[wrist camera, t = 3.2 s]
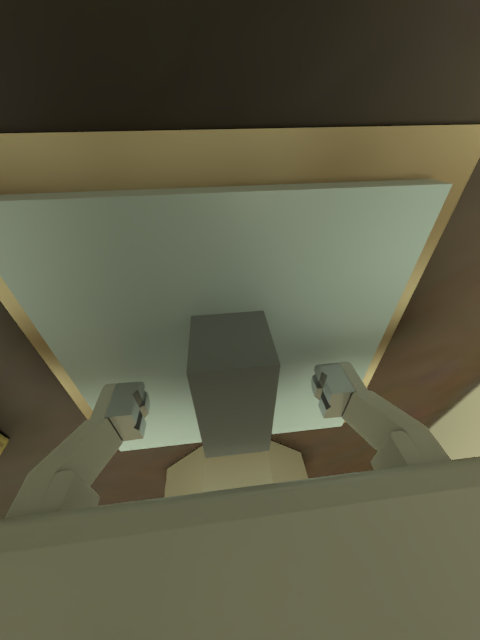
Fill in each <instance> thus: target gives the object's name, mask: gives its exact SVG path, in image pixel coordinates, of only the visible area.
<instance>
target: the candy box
mask: <svg viewBox="0 0 480 640" xmlns="http://www.w3.org/2000/svg"><path fill="white" fill-rule="evenodd" d="M8 441H9V439H8V438H6V437H4V436H3V435H2V434H0V455H1V453H2V451H3V450H4V448H5V447H6V445H7V443H8Z"/></svg>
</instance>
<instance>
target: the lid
mask: <svg viewBox="0 0 480 640" xmlns="http://www.w3.org/2000/svg"><path fill="white" fill-rule="evenodd" d="M451 187H452V184H451V183H447V182H442V181H438V180H434V179H413V180H386V181H358V182H331V183H303V184H276V185H249V186H221V187H194V188H166V189H139V190H112V191H84V192H57V193H29V194H2V195H0V276H1V277H2V279H3V280H4V282H5V283H6V285H7V286H8V288H9V289H10V291H11V292H12V294H13V295H14V296H15V298H16V299H17V301H18V302H19V304H20V305H21V307H22V308H23V310H24V311H25V313H26V314H27V315H28V317H29V318H30V320H31V321H32V323H33V324H34V326H35V327H36V329H37V330H38V332H39V333H40V335H41V336H42V337H43V339H44V340H45V342H46V343H47V345H48V346H49V348H50V349H51V351H52V352H53V354H54V355H55V356H56V358H57V359H58V361H59V362H60V364H61V365H62V367H63V368H64V370H65V371H66V373H67V374H68V375H69V377H70V378H71V380H72V381H73V383H74V384H75V386H76V387H77V389H78V390H79V392H80V393H81V395H82V396H83V397H84V399H85V400H86V402H87V403H88V405H89V406H90V408H91V409H92V411H93V410H94V407H95V405H96V402H97V400H98V397H99V395H100V392H101V390H102V388H103V386H104V385H105V384H114V383H127V382H143V383H144V385H145V389H144V391H146V392H147V393H148V395H149V399H150V408H149V414H148V415H147V416H146V417H145V418H144V419H145V421H146V428H145V433H144V438H143V439H136V440H129V441H122V442H123V443H122V444H121V446H120V447H119V448H118V449H119V450H120V451H128V450H137V449H146V448H154V447H163V446H172V445H181V444H189V443H198V442H202V444H203V449H204V453H205V458H212V457H220V456H228V455H237V454H245V453H254V452H262V451H270V443H271V435H272V434H277V433H286V432H295V431H303V430H312V429H321V428H330V427H339V426H342V424H343V422H344V419H342V417H335V418H323V416H322V414H321V411H320V409H319V406H318V404H319V400H318V399H317V398H316V397H314V394H313V391H312V387H311V380H312V376H313V375H314V374H315V372H314V367H315V366H316V365H318V364H327V363H336V362H337V363H338V362H350V363H351V364H352V366H353V367H354V369H355V370H356V372H357V374H358V375H359V377H360V378H361V380H362V381H363V379H364V376H365V374H366V372H367V370H368V368H369V365H370V363H371V361H372V359H373V357H374V355H375V352H376V350H377V348H378V346H379V344H380V341H381V339H382V337H383V335H384V333H385V331H386V328H387V326H388V324H389V322H390V320H391V317H392V315H393V313H394V311H395V309H396V307H397V304H398V302H399V300H400V298H401V296H402V293H403V291H404V289H405V287H406V285H407V283H408V280H409V278H410V276H411V274H412V272H413V269H414V267H415V265H416V263H417V261H418V259H419V256H420V254H421V252H422V250H423V248H424V245H425V243H426V241H427V239H428V237H429V235H430V232H431V230H432V228H433V226H434V224H435V221H436V219H437V217H438V215H439V213H440V211H441V208H442V206H443V204H444V202H445V200H446V197H447V195H448V193H449V191H450V189H451Z"/></svg>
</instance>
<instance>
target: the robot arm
mask: <svg viewBox="0 0 480 640" xmlns="http://www.w3.org/2000/svg"><path fill="white" fill-rule="evenodd" d="M314 372H315V374H314V375H313V376H312V380H311V387H312V391H313V394H314V397H316V398H317V399H318V400H319V404H318V406H319V409H320V411H321V414H322V416H323V418H335V417H342V419H344V420H345V421H346V422H347V423H348V424H349V425H350V426H351V427H352V428H353V429H354V430H355V431H356V432H357V433H358V434H360V435H361V436H362V437H363V438H364V439H365V440H366V441H367V442H368V443H369V444H370V445H371V446H372V447H373V448H374V449H376V450H377V451H378V452H377V453H376V454H375V456H374V457H373V459H372V460H371V465H372V467H373V469H374V470H372V471H364V472H356V473H349V474H341V475H333V476H325V477H318V478H310V479H302V480H295V481H287V482H279V483H271V484H264V485H256V486H248V487H241V488H233V489H225V490H217V491H210V492H202V493H194V494H187V495H179V496H171V497H163V498H156V499H148V500H140V501H133V502H125V503H117V504H110V505H102V506H98V502H99V498H100V497H99V495H98V494H97V493H96V492H95V491H94V490H93V489H92V488H91V487H90V485H91V484H92V483H93V481H94V480H95V479H96V478H97V476H98V475H99V474H100V472H101V471H102V470H103V468H104V467H105V466H106V464H107V463H108V462H109V460H110V459H111V458H112V456H113V455H114V454H115V452H116V451H117V450H118V448H119V447H120V446H121V444H122V443H123V442H122V441H129V440H136V439H143V438H144V433H145V428H146V421H145V419H144V418H145V417H146V416H147V415H148V414H149V408H150V399H149V395H148V393H147V392H146V391H144V389H145V385H144V383H143V382H127V383H114V384H105V385H104V386H103V388H102V390H101V392H100V395H99V397H98V400H97V402H96V405H95V407H94V410H93V412H92V415H91V417H90V420H85V421H84V422H83V423H82V424H81V425H80V426H79V427H78V428H77V429H76V430H75V431H74V432H72V433H71V434H70V435H69V436H68V437H67V438H66V439H65V440H64V441H63V442H62V443H61V444H59V445H58V446H57V447H56V448H55V449H54V450H53V451H52V452H51V453H50V454H49V455H48V456H47V457H45V458H44V459H43V460H42V461H41V462H40V463H39V464H38V465H37V466H36V467H35V468H34V469H32V470H31V471H30V472H29V473H28V475H27V477H26V479H25V480H24V482H23V484H22V486H21V488H20V490H19V492H18V494H17V496H16V498H15V500H14V502H13V504H12V505H11V507H10V509H9V511H8V513H7V515H6V517H5V518H2V519H0V640H480V457H472V458H464V459H457V460H451V459H450V458H449V456H448V455H447V454H446V452H445V451H444V450H443V448H442V447H441V445H440V444H439V443H438V441H437V440H436V439H435V437H434V436H433V435H432V433H431V432H430V431H429V429H428V428H427V427H426V426H425V425H423V424H422V423H420V422H419V421H417V420H415V419H414V418H412V417H411V416H409V415H408V414H406V413H405V412H403V411H402V410H400V409H399V408H397V407H396V406H394V405H393V404H391V403H390V402H388V401H387V400H385V399H384V398H382V397H381V396H379V395H377V394H376V393H374V392H373V391H368V390H367V388H366V386H365V385H364V383H363V382H362V380H361V378H360V377H359V375H358V374H357V372H356V370H355V369H354V367H353V366H352V364H351V363H350V362H338V363H337V362H336V363H327V364H318V365H316V366H315V367H314Z"/></svg>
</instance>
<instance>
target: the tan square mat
mask: <svg viewBox="0 0 480 640" xmlns="http://www.w3.org/2000/svg"><path fill="white" fill-rule="evenodd" d="M479 157H480V124H476V125H423V126H370V127H318V128H265V129H213V130H160V131H107V132H55V133H2V134H0V195H2V194H29V193H57V192H84V191H112V190H139V189H166V188H194V187H221V186H249V185H276V184H303V183H331V182H358V181H386V180H413V179H434V180H438V181H442V182H447V183H451V184H452V187H451V189H450V191H449V193H448V195H447V197H446V200H445V202H444V204H443V206H442V208H441V211H440V213H439V215H438V217H437V219H436V221H435V224H434V226H433V228H432V230H431V232H430V235H429V237H428V239H427V241H426V243H425V245H424V248H423V250H422V252H421V254H420V256H419V259H418V261H417V263H416V265H415V267H414V269H413V272H412V274H411V276H410V278H409V280H408V283H407V285H406V287H405V289H404V291H403V293H402V296H401V298H400V300H399V302H398V304H397V307H396V309H395V311H394V313H393V315H392V317H391V320H390V322H389V324H388V326H387V328H386V331H385V333H384V335H383V337H382V339H381V341H380V344H379V346H378V348H377V350H376V352H375V355H374V357H373V359H372V361H371V363H370V365H369V368H368V370H367V372H366V374H365V376H364V379H363V381H362V382H363V383H364V385H365V386H366V388H367V386H368V384H369V382H370V380H371V378H372V376H373V374H374V372H375V370H376V368H377V366H378V364H379V362H380V360H381V358H382V356H383V354H384V352H385V350H386V347H387V345H388V343H389V341H390V339H391V337H392V335H393V333H394V331H395V329H396V327H397V325H398V323H399V321H400V319H401V317H402V315H403V313H404V311H405V309H406V307H407V305H408V303H409V300H410V298H411V296H412V294H413V292H414V290H415V288H416V286H417V284H418V282H419V280H420V278H421V276H422V274H423V272H424V270H425V268H426V266H427V264H428V262H429V260H430V258H431V255H432V253H433V251H434V249H435V247H436V245H437V243H438V241H439V239H440V237H441V235H442V233H443V231H444V229H445V227H446V225H447V223H448V221H449V219H450V217H451V215H452V213H453V210H454V208H455V206H456V204H457V202H458V200H459V198H460V196H461V194H462V192H463V190H464V188H465V186H466V184H467V182H468V180H469V178H470V176H471V174H472V172H473V170H474V168H475V166H476V163H477V161H478V159H479ZM0 301H1V303H2V304H3V305H4V307H5V308H6V309H7V311H8V312H9V313H10V315H11V316H12V318H13V319H14V320H15V322H16V323H17V324H18V326H19V327H20V328H21V330H22V331H23V332H24V334H25V335H26V337H27V338H28V339H29V341H30V342H31V343H32V345H33V346H34V347H35V349H36V350H37V352H38V353H39V354H40V356H41V357H42V358H43V360H44V361H45V362H46V364H47V365H48V366H49V368H50V369H51V371H52V372H53V373H54V375H55V376H56V377H57V379H58V380H59V381H60V383H61V384H62V386H63V387H64V388H65V390H66V391H67V392H68V394H69V395H70V396H71V398H72V399H73V401H74V402H75V403H76V405H77V406H78V407H79V409H80V410H81V411H82V413H83V414H84V415H85V417H86V418H87V420H90V417H91V415H92V412H93V411H92V409H91V408H90V406H89V405H88V403H87V402H86V400H85V399H84V397H83V396H82V395H81V393H80V392H79V390H78V389H77V387H76V386H75V384H74V383H73V381H72V380H71V378H70V377H69V375H68V374H67V373H66V371H65V370H64V368H63V367H62V365H61V364H60V362H59V361H58V359H57V358H56V356H55V355H54V354H53V352H52V351H51V349H50V348H49V346H48V345H47V343H46V342H45V340H44V339H43V337H42V336H41V335H40V333H39V332H38V330H37V329H36V327H35V326H34V324H33V323H32V321H31V320H30V318H29V317H28V315H27V314H26V313H25V311H24V310H23V308H22V307H21V305H20V304H19V302H18V301H17V299H16V298H15V296H14V295H13V294H12V292H11V291H10V289H9V288H8V286H7V285H6V283H5V282H4V280H3V279H2V277H1V276H0ZM345 422H346V421H345V420H344V422H343V423H345Z"/></svg>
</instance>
